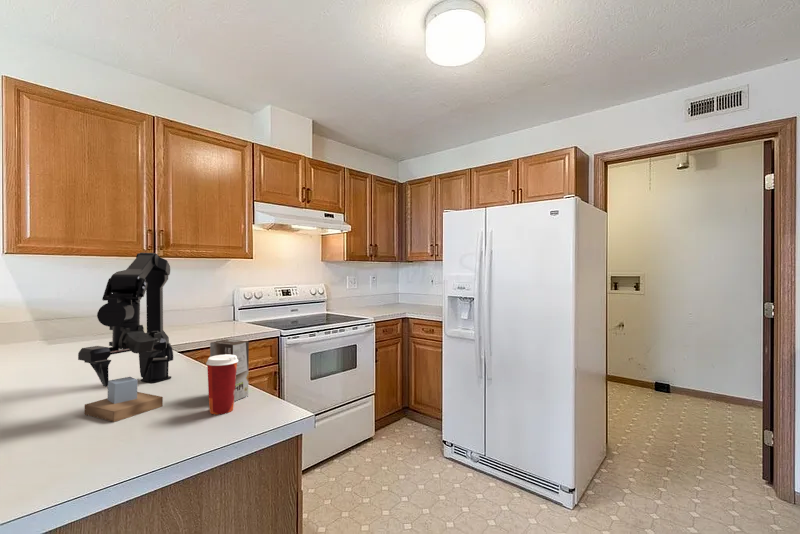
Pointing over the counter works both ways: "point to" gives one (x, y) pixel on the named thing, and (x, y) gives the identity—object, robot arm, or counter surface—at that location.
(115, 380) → the block
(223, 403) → the paper cup
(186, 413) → the counter surface
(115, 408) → the base
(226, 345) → the coffee box
